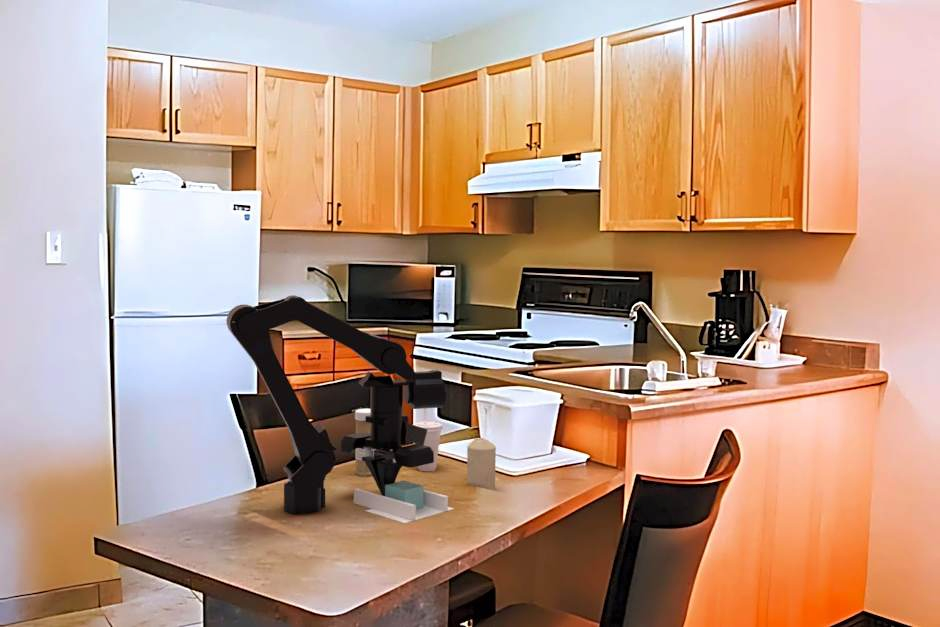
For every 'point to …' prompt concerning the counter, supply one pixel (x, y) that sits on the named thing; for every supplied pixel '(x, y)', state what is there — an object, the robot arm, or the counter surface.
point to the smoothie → (430, 440)
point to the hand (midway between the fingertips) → (386, 496)
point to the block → (406, 492)
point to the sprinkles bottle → (359, 453)
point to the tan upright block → (481, 463)
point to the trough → (401, 505)
